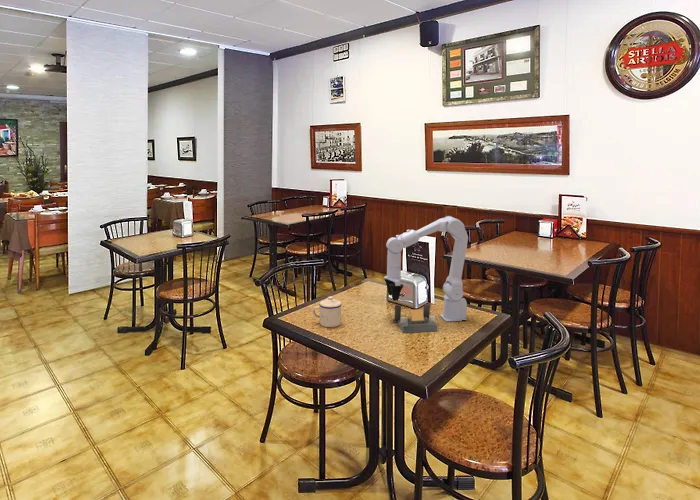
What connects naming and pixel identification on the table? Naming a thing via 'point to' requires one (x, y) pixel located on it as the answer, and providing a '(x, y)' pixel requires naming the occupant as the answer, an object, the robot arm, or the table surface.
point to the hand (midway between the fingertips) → (393, 297)
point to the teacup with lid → (329, 312)
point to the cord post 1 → (397, 314)
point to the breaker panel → (417, 325)
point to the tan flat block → (417, 316)
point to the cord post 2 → (426, 310)
